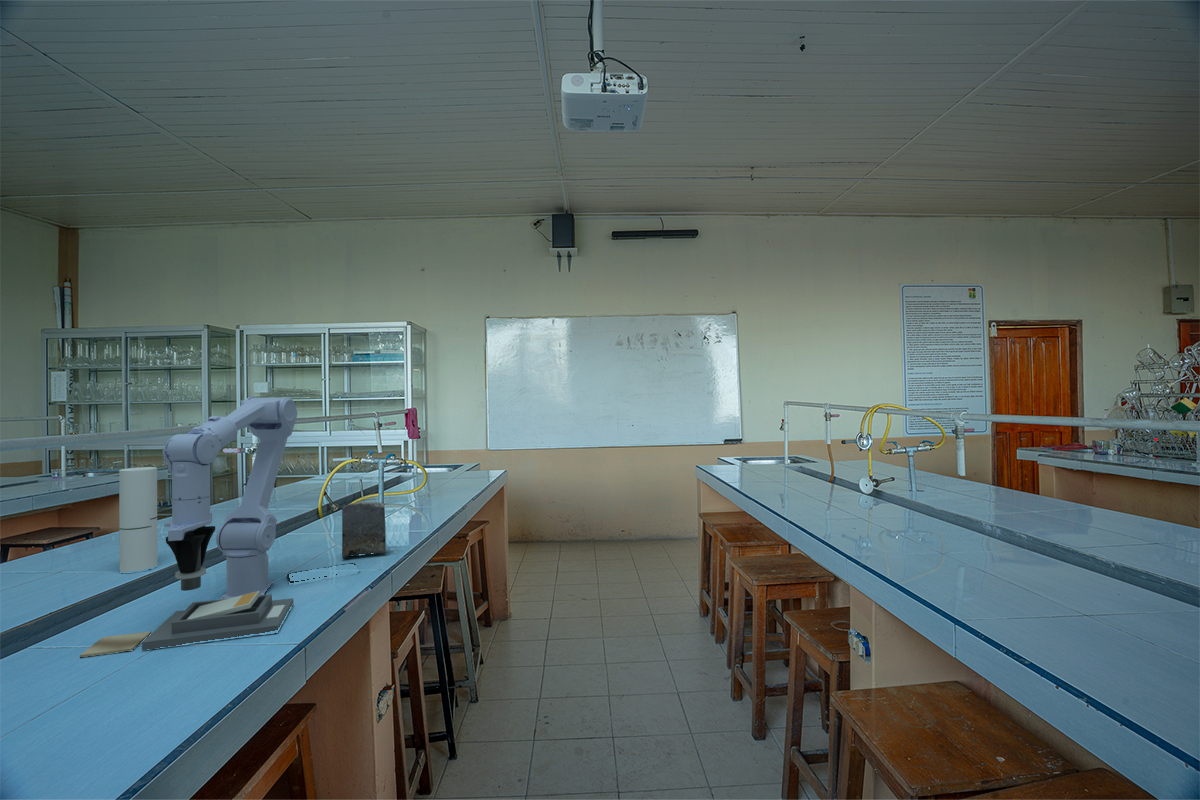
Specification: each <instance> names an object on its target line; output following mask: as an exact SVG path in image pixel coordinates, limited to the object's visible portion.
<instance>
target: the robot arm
mask: <svg viewBox="0 0 1200 800" xmlns="http://www.w3.org/2000/svg"><path fill="white" fill-rule="evenodd" d="M297 417H298V410H297V406H296V403H295V401H294V400H293V399H292V398H291V397H289V396H284V397H254V396H249V397H247V398H246V399H243V400H241V402H240V406H239V407H237V408H236V409H234V411H232V412H231V413H229V414H228V415H227V416H219V415H211V416H209V417H208V418H207V421H206V422H204V423H202V424H201V425H199V426H194V427H192V428H191V430H190V431H189V432H187V433H177V434H175V435H172V437H171V438H169V439H168V440H167V441H166V443H165V447H164V449H163V450H162V455H163V458H164V461H166V463H167V465H168V466H167V468H168V469H167V470H168V472H169V474H171V496H172V497H171V498H172V499H171V512H172V513H171V517H172V518H171V519H172V520H169V521H166V522H165V523H164V527H165V528H170V529H168V530H167V536H166V537H165V543H166V544H167V545H168V547H169V548H170V550H171V551H172V553H173V555H174V558H175V561H176V563H177V566H178V571H180V573H193V572H195V570H196V566H197V560H198V553H199V549H200V546H201V567H203V565H204V562H205V558H206V554H207V549H208V547H209V544H210V540H211V538H212V536H213V534H214V532H216V525H211V524H212V523H213V513H212V512H211V463H214V461H215V460H216V458H217V456H218V454H219V452H220V451H221V449H222V448H223V447H226V446H227V445H229V444H230V443H232V442H233V441H234V440H235V439H236V438H237V437H238V433H239V432H238V431H240V430H241V429H244V428H246V427H248V429H249V430H250V433H251V434H252V435H253V436H255V437H257V438H259V444H258V447H257V448H258V449H257V451H256V455H255V457H254V461H253V464H252V467H251V471H250V473H249V476H248V479H247V483H246V486H245V488H244V489H245V490H244V493H243V496H242V499H241V502H240V505H239V506H238V507H237V508H234V509H233V510H232V511H230V512H229V513H227V514H226V515H225V518H224V520H223V522H222V524H221V525H220V527H219V528H218V530H217V532H216V535H215V544H216V546H217V548H218V550H219V551H221V552H222V556H226V592H225V593H223V595H222V596H220V598H219V600H221V599H229V598H233V597H237V596H241V595H245V594H249V593H253V592H257V591H260V595H263V594H264V593H265V592H266V590H267V589H268V588H269V586H270V585H271V584H272V582H273V583H274V580H269V555H268V553H267V552H268V551H269V550H270V548H271V547H272V546H273V545H274V543H275V541H276V534H277V533H276V532H277V530H276V527H277V522H278V520H277V518H276V516H275V515H274V514H273V513H271V512H270V511H269V510H268V508H269V503H270V501H271V498H272V497H271V496H272V494H273V491H274V487H275V483H276V480H277V477H278V474H279V470H280V466H281V462H282V459H283V457H284V452H285V449H286V445H287V442H288V437H290V436H292V434H293V431H294V427H295V424H296V420H297ZM272 585H273V584H272ZM272 585H271V586H272ZM271 586H270V587H271ZM269 589H270V588H269ZM269 589H268V590H269ZM268 590H267V591H268ZM261 593H263V594H261ZM266 593H267V592H266ZM266 593H265V594H266ZM265 594H264V595H265Z"/></svg>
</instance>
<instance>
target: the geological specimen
mask: <svg viewBox="0 0 1200 800" xmlns="http://www.w3.org/2000/svg"><path fill="white" fill-rule="evenodd" d="M385 510H386V509H385V503H383V502H382V501H381V502H376V501H374V502H373V501H361V502H357V503H349V504H346V505H344V506H343V505H342V506H341V521H342V522H341V523H342V525H341V527H342V529H341V532H342V533H341V534H342V535H341V538H342V541H341V557H342V558H345V557H346V556H347V555H348V556H349V555H359V554H369V555H370V554H371V553H379V554H385V553H386V551H387V550H386V546H387V545H386V543H387V542H386V514H385V513H386V511H385ZM371 555H372V554H371Z"/></svg>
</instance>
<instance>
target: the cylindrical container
mask: <svg viewBox="0 0 1200 800" xmlns="http://www.w3.org/2000/svg"><path fill="white" fill-rule="evenodd" d="M118 473H119V475H118V477H119V479H118V480H119V482H118V487H119V488H118V489H119V493H118V494H119V495H118V496H119V499H118V500H119V501H118V502H119V504H118V505H119V513H118V514H119V515H118V518H119V519H118V521H119V524H118V525H119V535H118V536H119V572H120V571H121V572H129V571H140V570H144V569H148V568H152V567H154V566H156V565H157V566H158V467H155V466H146V467H143V466H142V467H130V468H122V469H119V471H118Z"/></svg>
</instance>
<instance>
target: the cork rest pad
mask: <svg viewBox="0 0 1200 800" xmlns="http://www.w3.org/2000/svg"><path fill="white" fill-rule="evenodd" d="M150 634H152V630H151V631H150V630H149V631H144V632H135V633H125V634H119V635H116V634H115V635H110V636H109V635H108V636H103V637H101V638H100V639H98V640H97V641H96V642H94V644H92V645H91V646H89V647H88V648H86V649H85V651H83V652H81V654H79V658H80V657H85V658H89V657H88V656H93V657H96V656H95V655H100V656H102V655H101V654H108V655H111V654H110V653H116V652H123V651H130V650H133V649H134V648H135V647H137V646H138V645H139V644H140V643H141V642H142V641H143V640H144V639H145V638H146V637H148V636H149V635H150ZM141 644H142V643H141ZM141 644H140V645H141ZM140 645H139V646H140ZM139 646H138V647H139ZM138 647H137V648H138ZM134 650H135V649H134ZM134 650H133V651H134ZM116 654H117V653H116Z"/></svg>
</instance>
